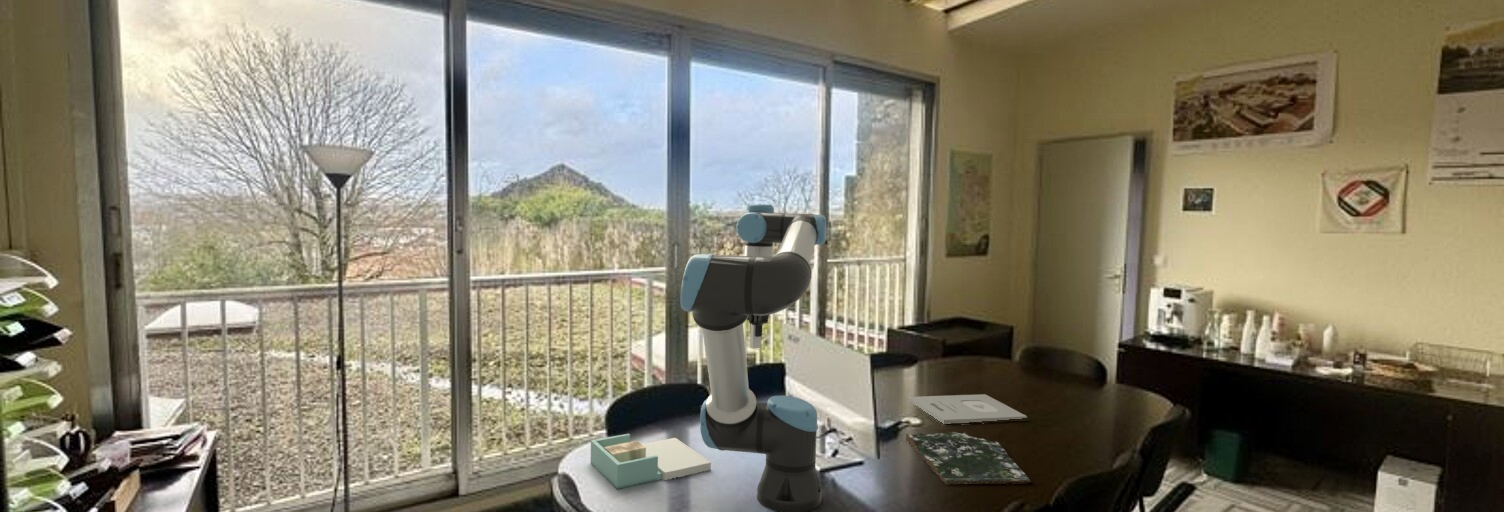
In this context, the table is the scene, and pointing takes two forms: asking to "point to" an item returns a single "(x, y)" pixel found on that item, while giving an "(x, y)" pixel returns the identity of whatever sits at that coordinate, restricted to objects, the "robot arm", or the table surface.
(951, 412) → the award plaque
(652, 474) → the box
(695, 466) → the cream board
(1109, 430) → the table surface
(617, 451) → the maple block
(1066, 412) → the table surface
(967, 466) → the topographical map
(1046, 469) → the table surface
